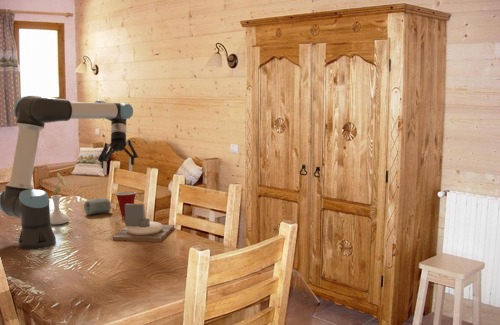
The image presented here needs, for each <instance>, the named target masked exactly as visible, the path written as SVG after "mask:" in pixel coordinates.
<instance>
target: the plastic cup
mask: <svg viewBox="0 0 500 325" xmlns="http://www.w3.org/2000/svg"><path fill="white" fill-rule="evenodd" d="M136 194H137V191H120V192H115V196H116V198H117V202H118V205H119V206H118V207H119V210H120V214H121V216H123V217H125V204H135V200H136Z"/></svg>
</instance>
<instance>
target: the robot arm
mask: <svg viewBox="0 0 500 325" xmlns="http://www.w3.org/2000/svg"><path fill="white" fill-rule="evenodd" d="M13 106H14V107H13V114H14V117H15V118H16V122H15V124H16V126H17V127H18V132H17V139H16V146H15V151H14V158H13V161H12V162H13V163H12V167H11V173H10V174H11V175H10V180H9V182H8V183H6V184H5V187H4V190H3V191H2V192H1V193H0V211H1V212H2V213H4V214H5V215H8V216H9V217H14V218H19V219H20V221H21V222H20V224H21V230H20V233H19V237H18V245H17V246H18V248H19V249H21V250H28V251H29V250H30V251H34V250H42V249H45V248H50V247H53V246H54V245H56V244H57V239H56V235H55V233H54V231H53V228H52V224H50V215H51V213H50V212H51V211H50V210H51V209H50V198H49V194H48V192H47V191H45V190H42V189H35V188H34V187H33V185H32V180H33V179H32V178H33V173H34V166H35V163H36V162H35V160H36V156H37V150H38V143H39V136H40V132H41V131H43V130H44V128H45V124H49V123H56V122H67V121H70V120H74V119H76V120H77V119H79V120H83V119H85V120H87V119H88V120H89V119H91V120H93V119H95V120H96V119H99V120H100V119H103V120H104V119H105V120H107V121H110V122H111V123H110V124H111V125H110V126H111V127H110V143H107V142H105V143H104V145H103V146H104V147H103V149H102V151H101V153H100V154H99V157H98V159H97V160H98V162H99V163H101V165H100V166H101V169H102V174H103V175H104V176H107V172H108V170H107V169H108V164H107V161H108V160H109V159H110V157H111V156H112V155H113V154H114V153H116V152H122V151H124V152H125V153H126V154H127V155H128V156H129V158H128V171H129V172H130V173H132V172H133V166H134V165H135V159H137V158H139V154H138V153H137V152H136V150H135V147H134V146H133V142H132V141H131V140H130V139H129V140H127V119H128V120H129V119H130V118H132V117H133V115H134V108H133V106H132V105H131V104H130V103H126V102H125V103H124V102H121V103H119V102H106V101H104V100H101V99H98V100H95V101H94V102H93V101H92V102H90V101H88V102H87V101H70V100H69V99H66V98H65V99H64V98H57V97H50V96H44V95H43V96H38V95H25V96H23V97H20V98H19V99H18V100H17V101H15V103H14V105H13ZM126 146H128V147H129V148H130V151H131V152H132V153H131V152H129V150H128V149H127V148H126Z"/></svg>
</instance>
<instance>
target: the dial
mask: <svg viewBox="0 0 500 325" xmlns="http://www.w3.org/2000/svg"><path fill="white" fill-rule="evenodd" d="M145 212H146V211H145V203H134V204H125V216H124V219H125V221H124V223H125V227H126V226H127V227H126V228H127V233H129V234H133V235H149V234H154V233H158V232H160V231H161V230H162V225H163V224H162V223H161V222H157V221H151V220H150V217H149V218H147V217H146V216H145Z"/></svg>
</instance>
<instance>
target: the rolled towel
mask: <svg viewBox="0 0 500 325" xmlns="http://www.w3.org/2000/svg"><path fill="white" fill-rule="evenodd" d="M111 207H112V206H111V201H110V200H109V199H108V198H104V197H101V198H100V197H99V198H93V199H92V198H91V199H88V200H86V201H85V202H84V205H83V208H84V212H85V214H86V215H88V216H93V215H98V214H99V215H100V214H108V213H109V212H110V211H111Z"/></svg>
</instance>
